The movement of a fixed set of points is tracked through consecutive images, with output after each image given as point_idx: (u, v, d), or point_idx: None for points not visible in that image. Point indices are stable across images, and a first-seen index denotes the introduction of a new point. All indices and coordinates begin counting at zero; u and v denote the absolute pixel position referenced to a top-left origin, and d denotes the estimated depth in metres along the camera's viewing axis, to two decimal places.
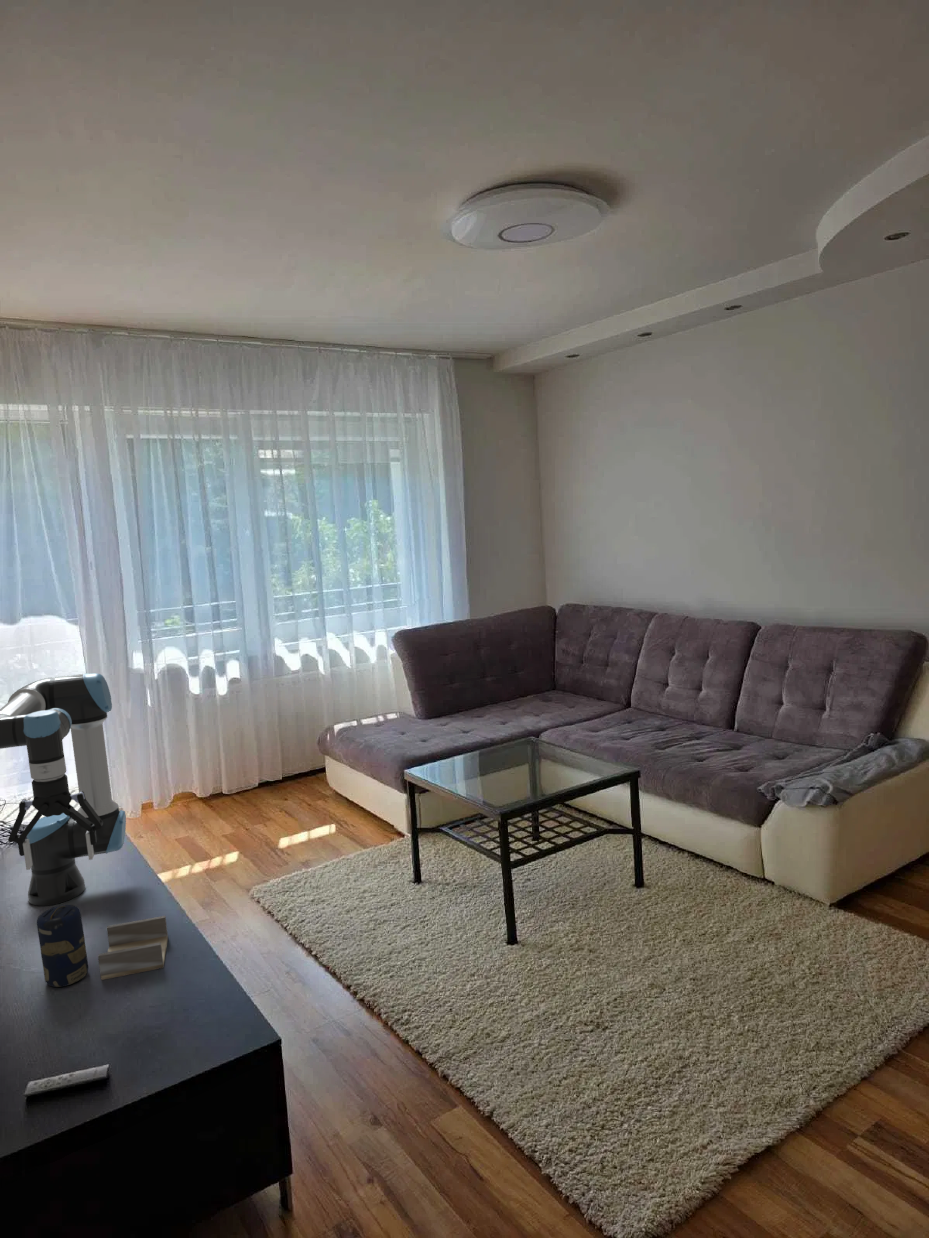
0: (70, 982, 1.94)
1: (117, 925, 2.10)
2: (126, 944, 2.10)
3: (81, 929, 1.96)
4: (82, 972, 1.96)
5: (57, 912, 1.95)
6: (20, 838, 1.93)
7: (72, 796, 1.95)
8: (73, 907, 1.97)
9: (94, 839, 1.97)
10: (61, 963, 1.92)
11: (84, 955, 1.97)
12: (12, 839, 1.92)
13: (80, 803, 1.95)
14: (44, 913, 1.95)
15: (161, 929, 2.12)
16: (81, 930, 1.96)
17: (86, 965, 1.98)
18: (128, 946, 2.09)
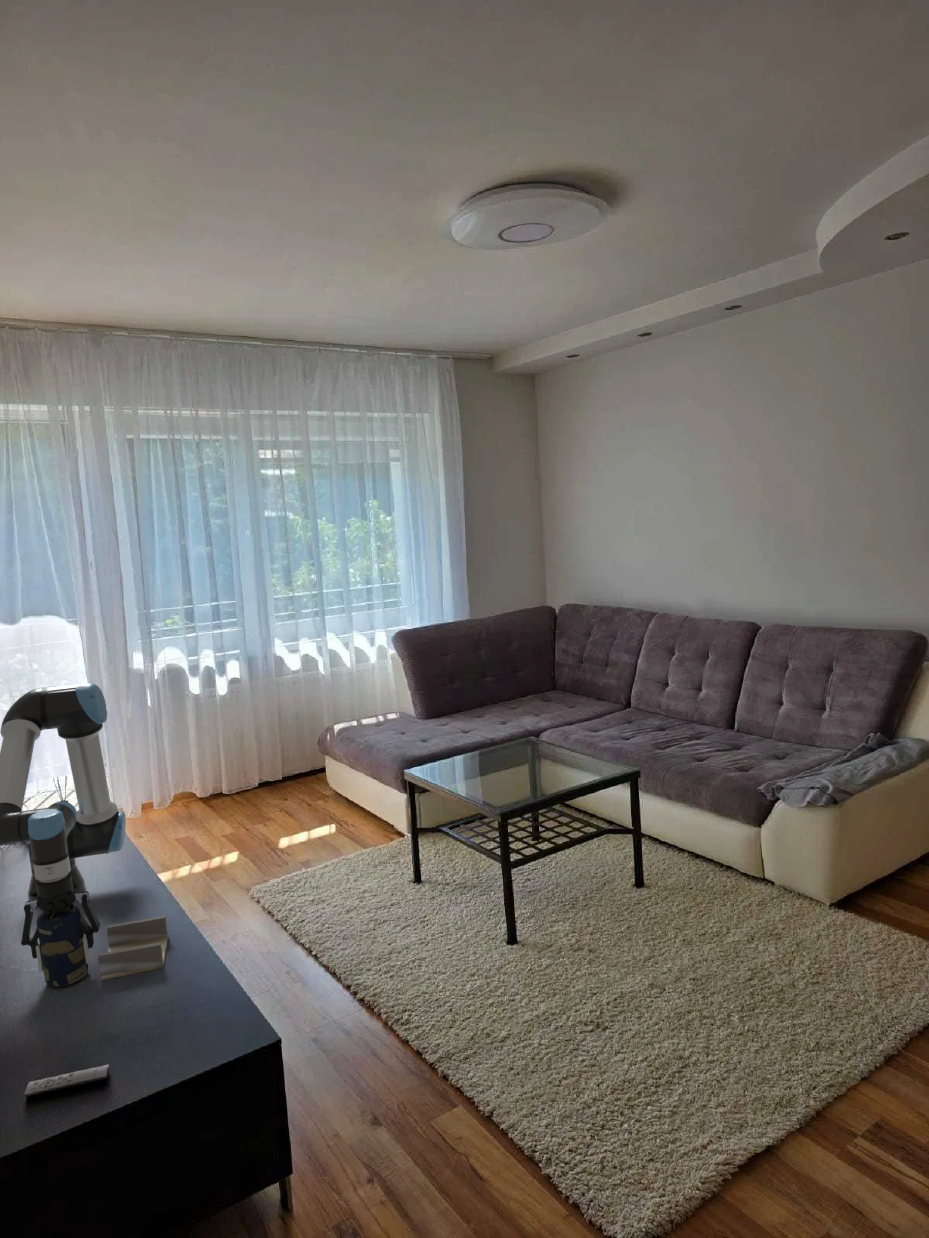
0: (70, 982, 1.94)
1: (117, 925, 2.10)
2: (126, 944, 2.10)
3: None
4: (82, 972, 1.96)
5: None
6: (32, 941, 1.93)
7: (77, 896, 1.95)
8: None
9: (91, 942, 1.97)
10: (60, 963, 1.92)
11: (84, 955, 1.97)
12: (25, 942, 1.93)
13: (83, 904, 1.95)
14: None
15: (161, 929, 2.12)
16: (81, 930, 1.96)
17: (86, 965, 1.98)
18: (128, 946, 2.09)
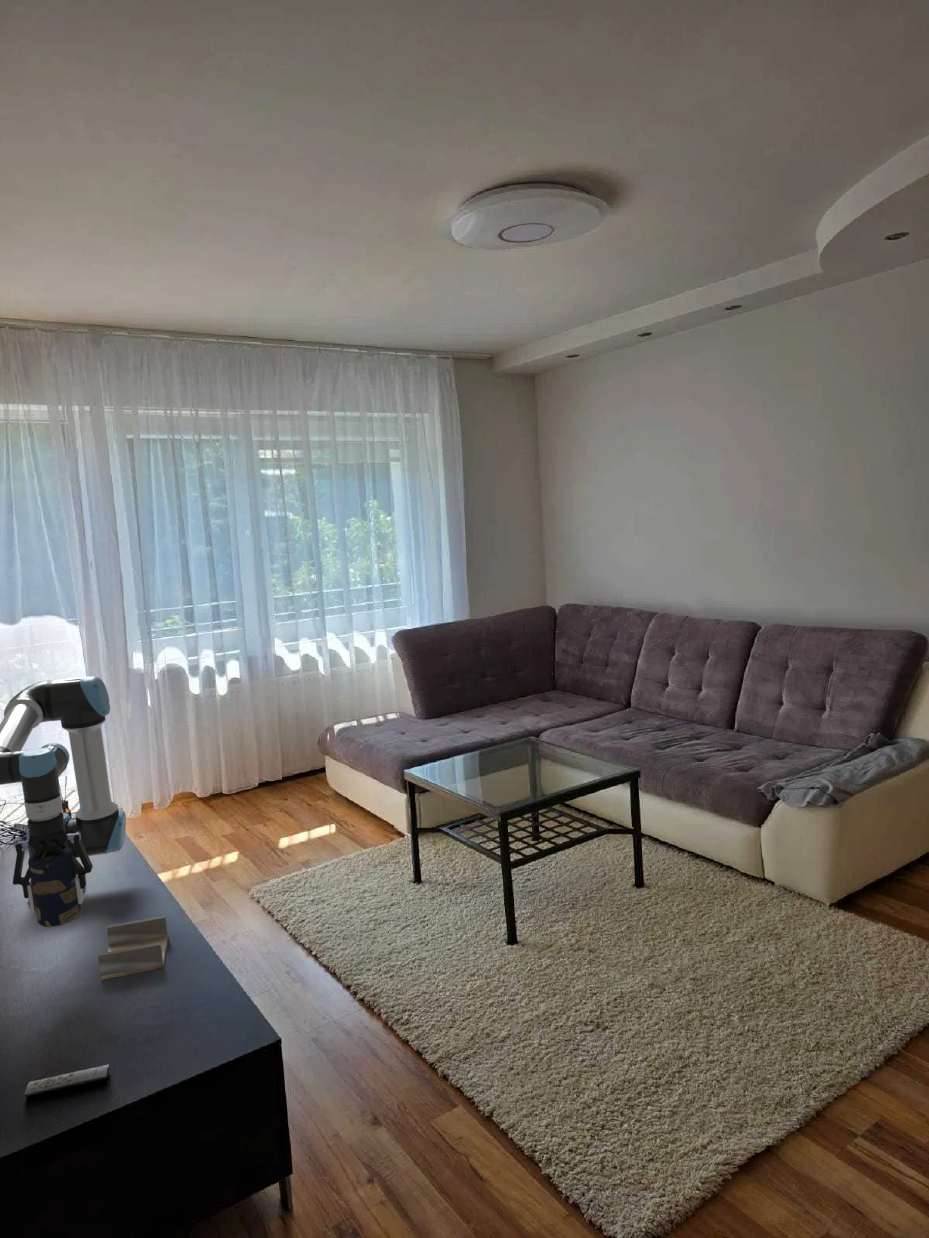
0: (62, 922, 1.92)
1: (117, 925, 2.10)
2: (126, 944, 2.10)
3: None
4: (74, 913, 1.94)
5: None
6: (24, 881, 1.91)
7: (69, 836, 1.94)
8: None
9: (84, 883, 1.96)
10: (52, 902, 1.90)
11: (76, 896, 1.95)
12: (16, 881, 1.91)
13: (75, 844, 1.93)
14: None
15: (161, 929, 2.12)
16: (73, 870, 1.94)
17: (78, 906, 1.96)
18: (128, 946, 2.09)
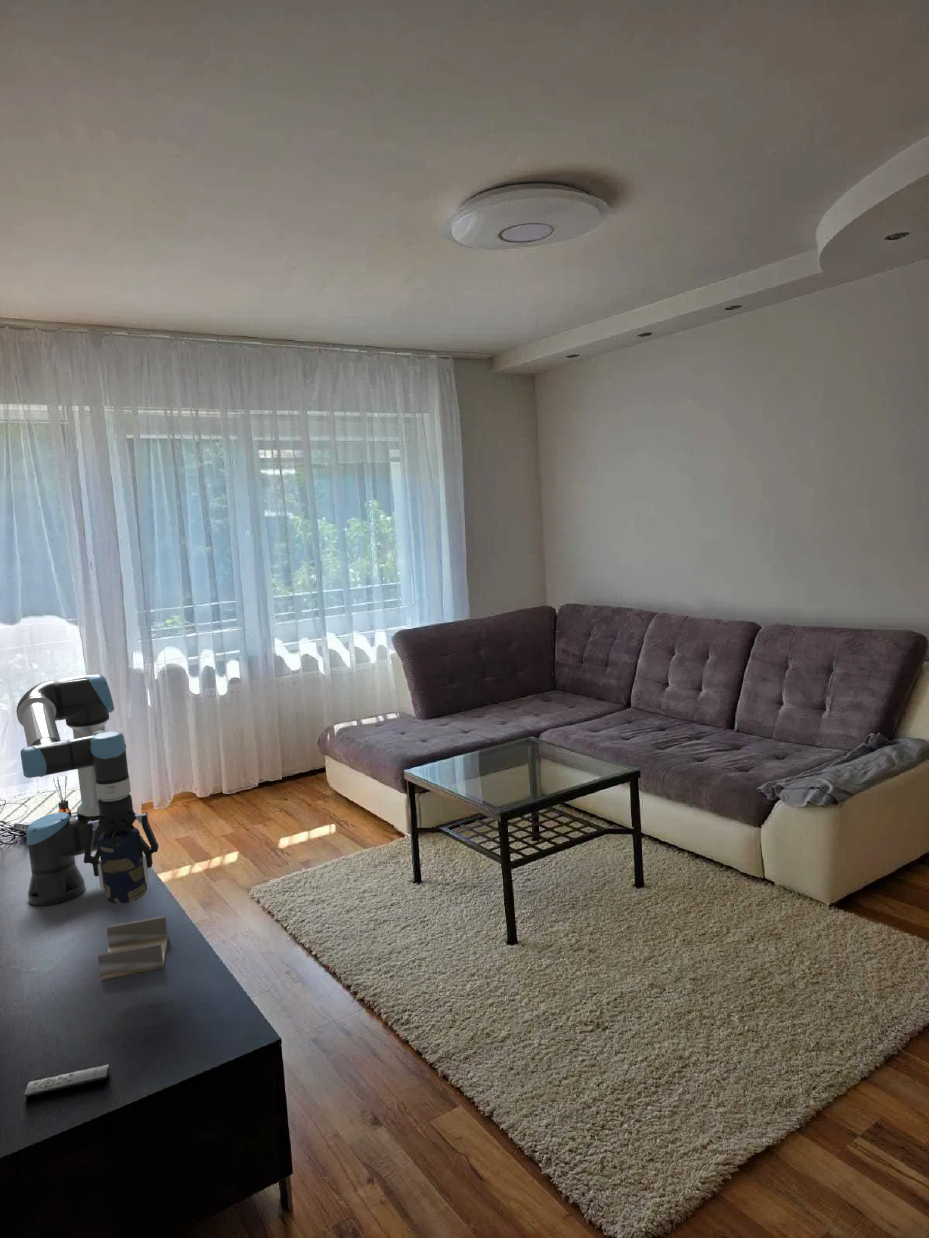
0: (131, 899, 1.99)
1: (117, 925, 2.10)
2: (126, 944, 2.10)
3: None
4: (141, 891, 2.01)
5: None
6: (94, 859, 1.99)
7: (137, 816, 2.01)
8: None
9: (150, 862, 2.03)
10: (122, 880, 1.97)
11: (143, 874, 2.02)
12: (87, 860, 1.98)
13: (143, 824, 2.01)
14: None
15: (161, 929, 2.12)
16: (141, 850, 2.02)
17: (145, 884, 2.03)
18: (128, 946, 2.09)
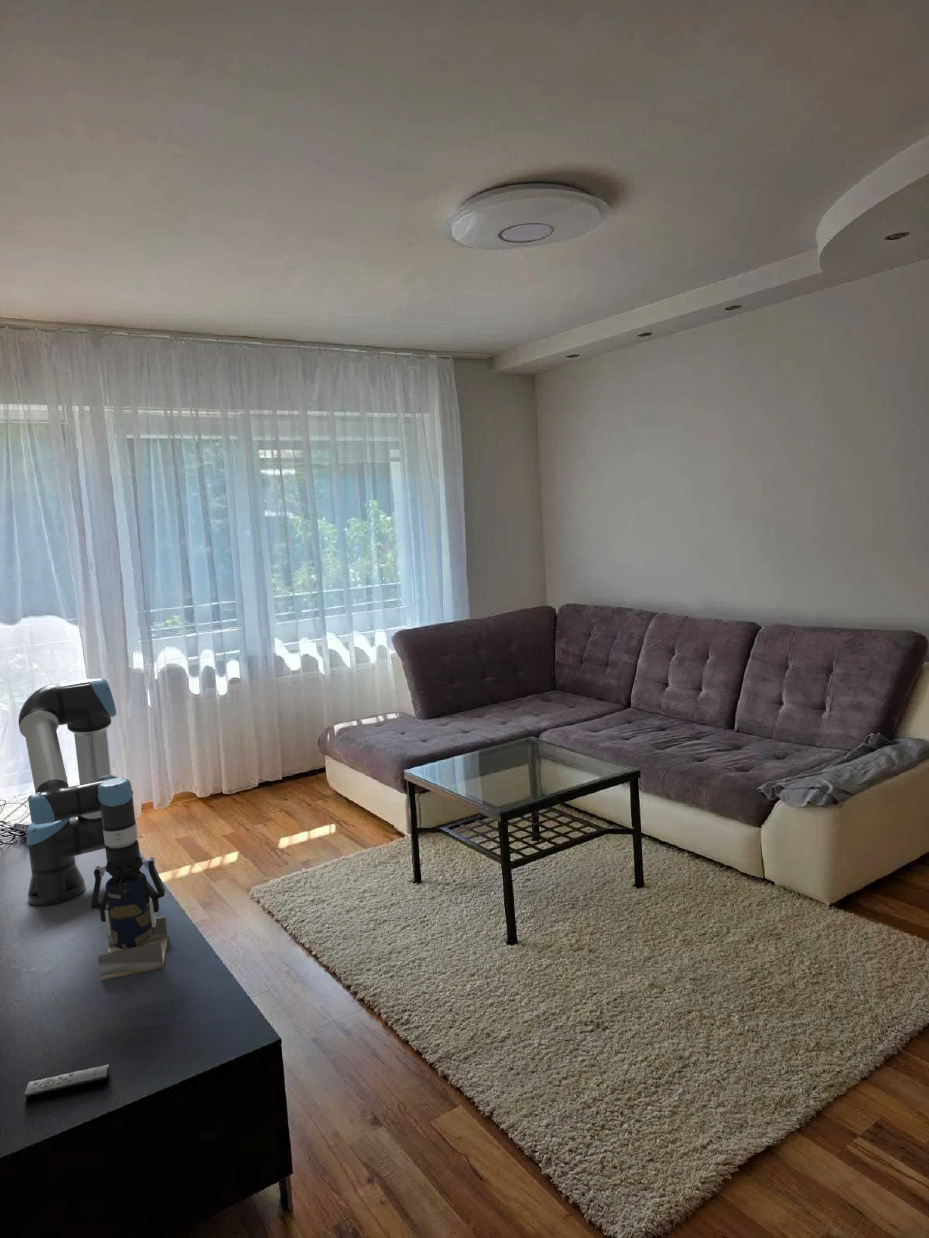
0: (138, 945, 2.01)
1: None
2: None
3: (147, 894, 2.03)
4: (148, 936, 2.03)
5: None
6: (102, 905, 2.00)
7: (143, 861, 2.03)
8: None
9: (157, 907, 2.04)
10: (129, 926, 1.99)
11: (150, 919, 2.04)
12: (95, 906, 2.00)
13: (150, 870, 2.02)
14: None
15: (161, 929, 2.12)
16: (147, 895, 2.03)
17: (152, 929, 2.05)
18: None
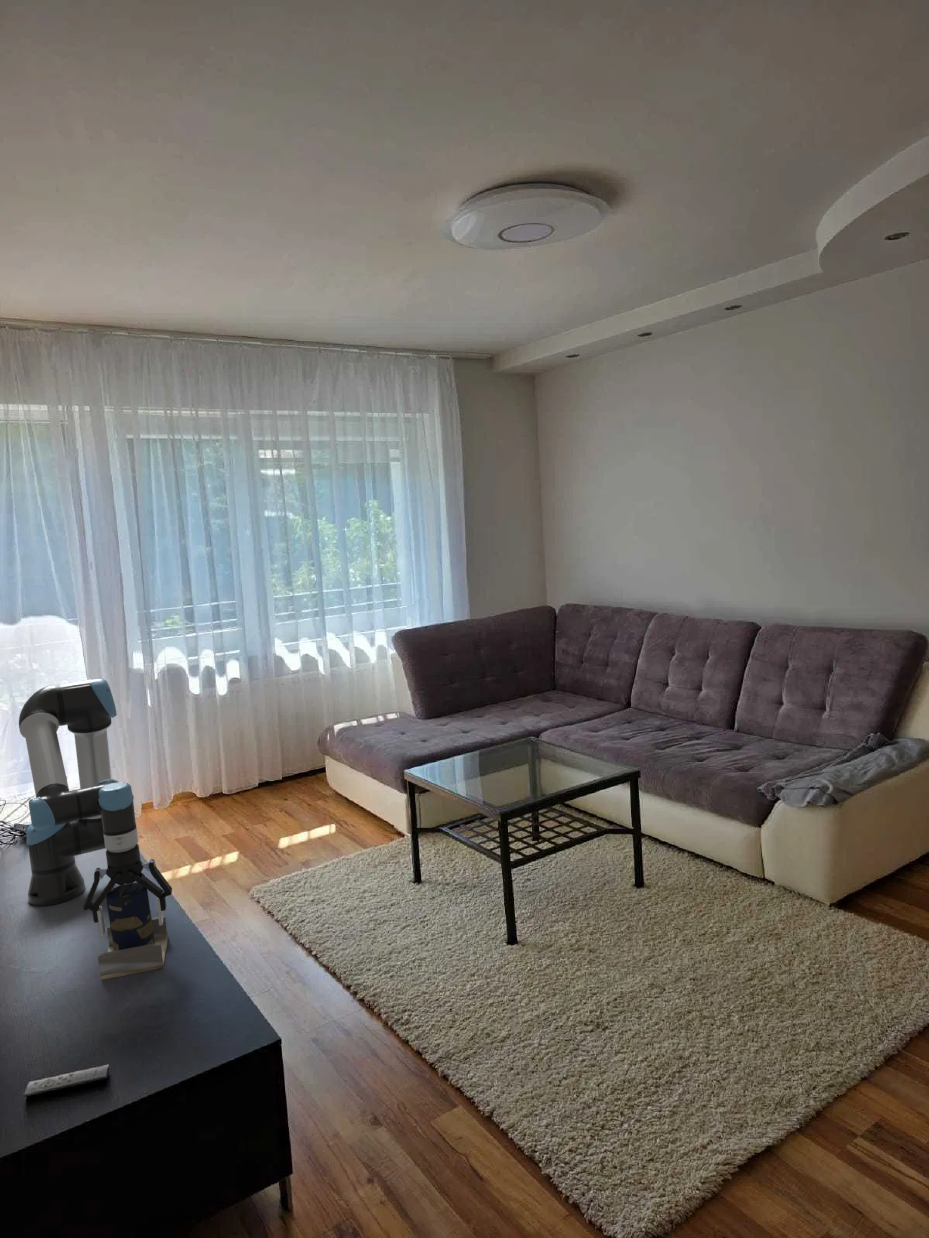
0: None
1: None
2: None
3: (148, 906, 2.04)
4: None
5: (125, 889, 2.03)
6: (94, 906, 2.00)
7: (144, 865, 2.03)
8: (140, 885, 2.04)
9: (164, 905, 2.05)
10: (130, 938, 2.00)
11: (151, 931, 2.04)
12: (87, 907, 1.99)
13: (151, 871, 2.03)
14: (113, 890, 2.03)
15: (161, 929, 2.12)
16: (148, 907, 2.04)
17: (153, 940, 2.05)
18: None
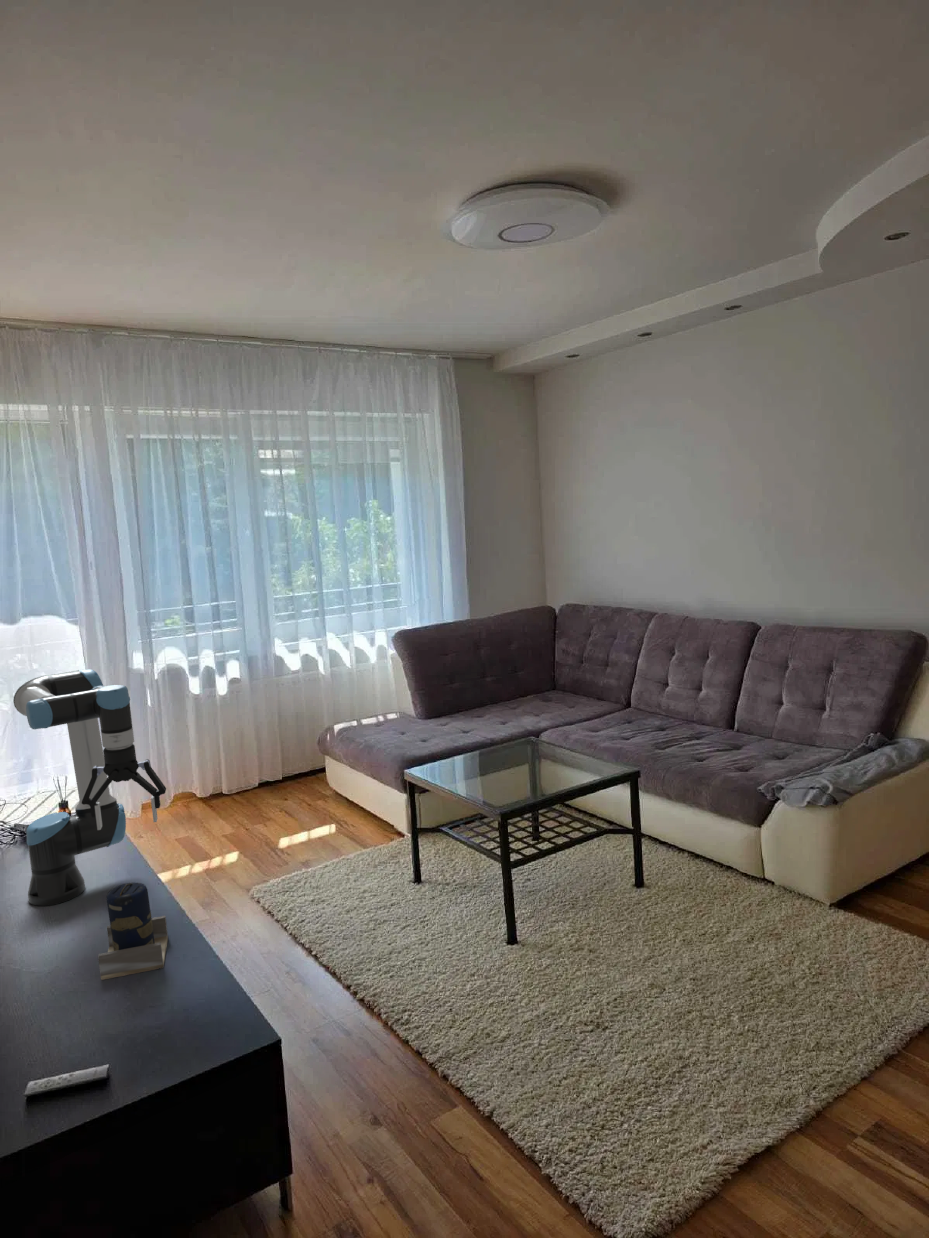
0: None
1: None
2: None
3: (148, 905, 2.04)
4: None
5: (125, 889, 2.03)
6: (92, 801, 2.11)
7: (139, 764, 2.13)
8: (140, 885, 2.05)
9: (158, 803, 2.15)
10: (130, 937, 2.00)
11: (151, 930, 2.04)
12: (85, 802, 2.10)
13: (146, 770, 2.13)
14: (113, 890, 2.03)
15: (161, 929, 2.12)
16: (148, 906, 2.04)
17: (153, 940, 2.05)
18: None
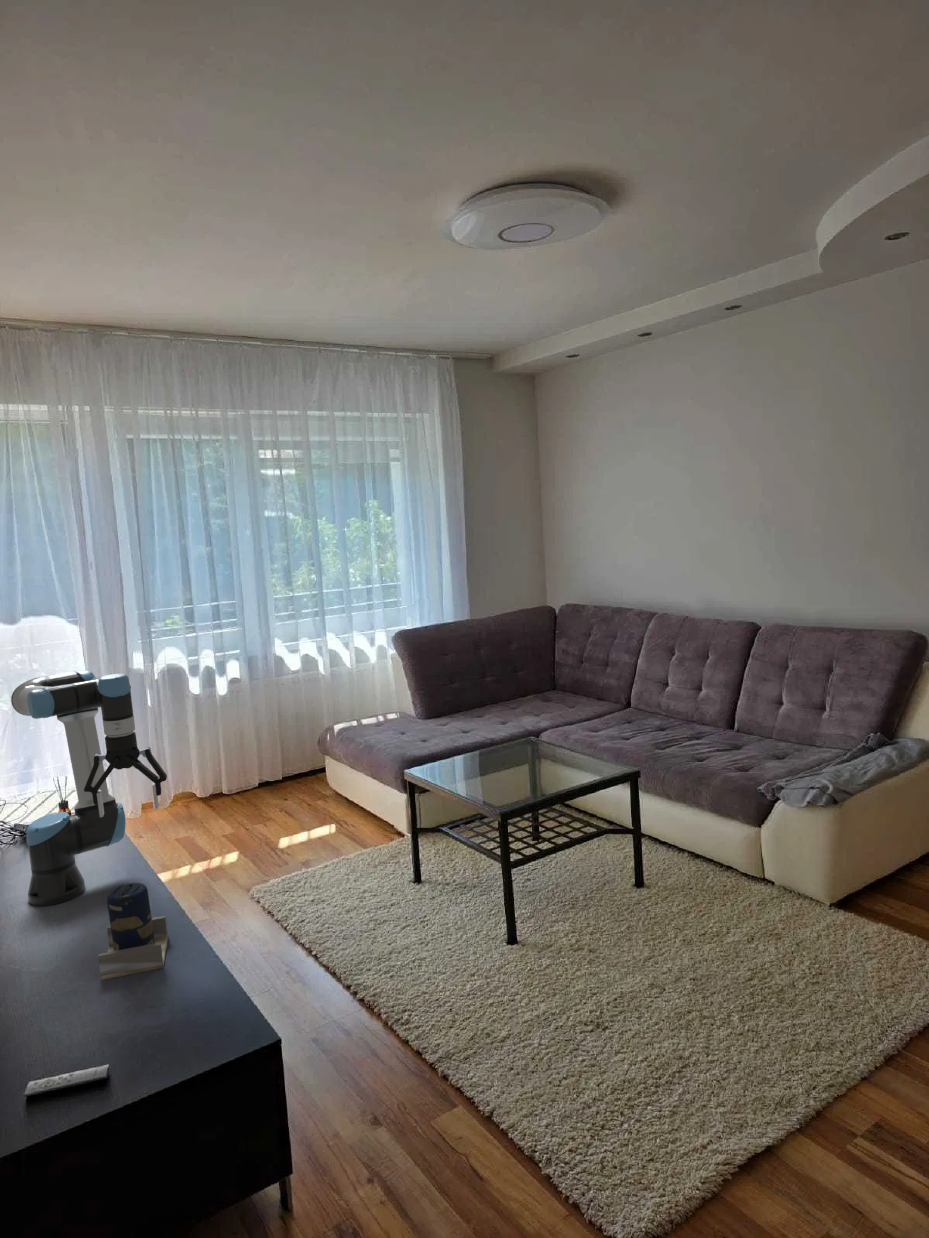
0: None
1: None
2: None
3: (148, 906, 2.04)
4: None
5: (126, 889, 2.03)
6: (94, 788, 2.14)
7: (140, 751, 2.17)
8: (140, 885, 2.05)
9: (159, 790, 2.19)
10: (130, 938, 2.00)
11: (151, 931, 2.04)
12: (87, 789, 2.13)
13: (147, 757, 2.17)
14: (113, 890, 2.03)
15: (161, 929, 2.12)
16: (148, 906, 2.04)
17: (153, 940, 2.05)
18: None
